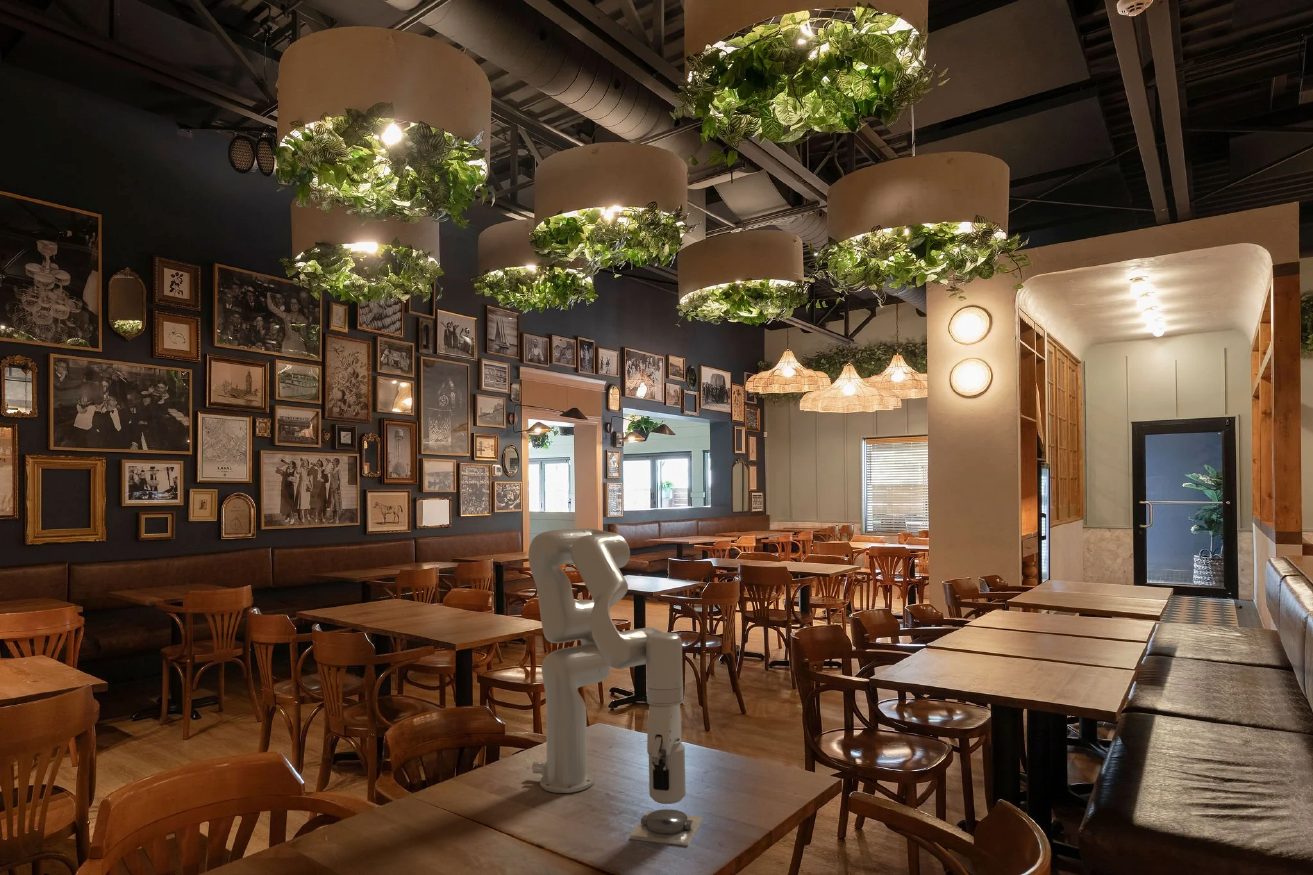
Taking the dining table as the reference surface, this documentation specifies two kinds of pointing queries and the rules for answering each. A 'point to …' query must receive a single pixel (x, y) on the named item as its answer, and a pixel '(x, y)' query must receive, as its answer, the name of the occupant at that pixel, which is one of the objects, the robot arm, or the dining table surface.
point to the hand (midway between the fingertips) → (667, 781)
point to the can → (671, 776)
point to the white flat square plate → (667, 827)
